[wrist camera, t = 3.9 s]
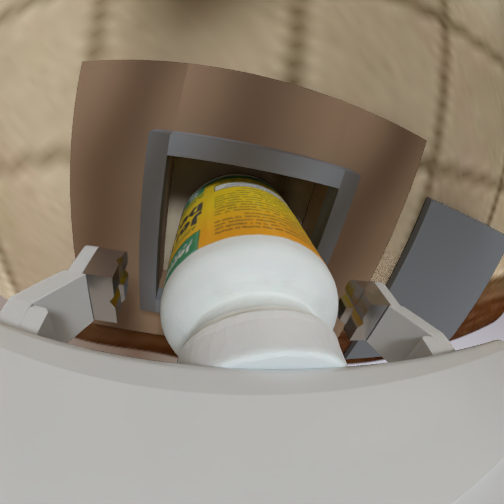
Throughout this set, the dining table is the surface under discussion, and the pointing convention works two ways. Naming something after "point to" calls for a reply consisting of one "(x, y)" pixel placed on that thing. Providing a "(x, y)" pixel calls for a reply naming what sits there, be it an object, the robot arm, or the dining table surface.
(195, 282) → the supplement bottle
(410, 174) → the walnut stand
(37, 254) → the dining table surface
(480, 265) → the slate mat
